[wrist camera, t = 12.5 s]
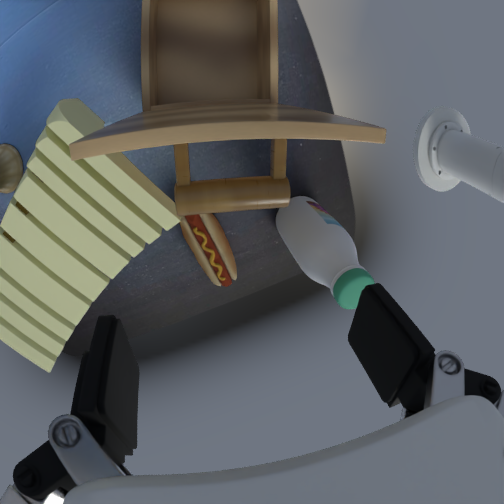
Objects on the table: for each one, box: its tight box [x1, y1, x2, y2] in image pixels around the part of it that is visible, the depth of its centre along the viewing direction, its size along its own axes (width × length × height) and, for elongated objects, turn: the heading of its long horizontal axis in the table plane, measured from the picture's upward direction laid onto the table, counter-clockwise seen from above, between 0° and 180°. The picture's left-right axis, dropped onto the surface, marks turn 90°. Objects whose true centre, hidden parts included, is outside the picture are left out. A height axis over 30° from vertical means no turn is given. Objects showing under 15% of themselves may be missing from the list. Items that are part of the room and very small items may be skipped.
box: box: [141, 0, 278, 112], centre depth 27 cm, size 19×15×8 cm
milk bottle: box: [276, 196, 375, 309], centre depth 37 cm, size 8×8×20 cm
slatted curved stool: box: [0, 98, 181, 373], centre depth 30 cm, size 30×16×18 cm, turn 131°
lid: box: [69, 103, 386, 216], centre depth 21 cm, size 20×15×5 cm
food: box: [179, 213, 237, 287], centre depth 42 cm, size 14×6×5 cm, turn 20°
